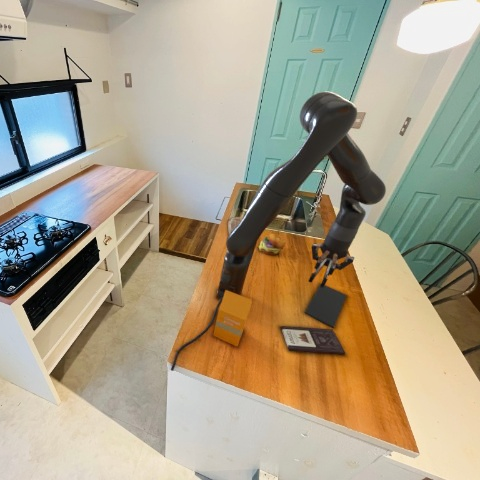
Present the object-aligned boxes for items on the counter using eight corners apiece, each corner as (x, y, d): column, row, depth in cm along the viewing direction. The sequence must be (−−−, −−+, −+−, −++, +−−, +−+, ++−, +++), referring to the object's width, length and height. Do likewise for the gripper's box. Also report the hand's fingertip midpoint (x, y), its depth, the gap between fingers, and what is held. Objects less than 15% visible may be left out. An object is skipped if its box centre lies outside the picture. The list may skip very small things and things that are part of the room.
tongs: (320, 260, 102) (323, 254, 101) (334, 265, 100) (337, 259, 98) (308, 281, 93) (311, 275, 91) (323, 288, 90) (326, 281, 88)
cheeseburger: (255, 243, 135) (264, 228, 129) (273, 247, 136) (283, 233, 131) (260, 255, 127) (270, 239, 121) (280, 259, 128) (290, 244, 122)
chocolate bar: (345, 352, 84) (289, 348, 85) (344, 354, 84) (289, 350, 85) (332, 329, 91) (281, 325, 92) (331, 331, 92) (280, 327, 93)
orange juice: (237, 347, 86) (250, 308, 75) (212, 335, 90) (221, 297, 78) (243, 329, 92) (255, 291, 80) (219, 319, 95) (228, 281, 84)
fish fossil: (248, 243, 135) (248, 241, 135) (228, 241, 137) (228, 240, 137) (245, 218, 156) (245, 216, 155) (227, 217, 158) (228, 215, 157)
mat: (333, 328, 93) (333, 327, 93) (304, 313, 98) (305, 312, 98) (346, 296, 106) (346, 295, 105) (320, 284, 111) (320, 283, 111)
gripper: (367, 237, 85) (345, 275, 95) (321, 223, 93) (306, 259, 103) (363, 247, 80) (341, 286, 90) (315, 231, 88) (299, 268, 98)
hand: (322, 271), depth 96 cm, fingers closed on tongs, 3 cm apart
